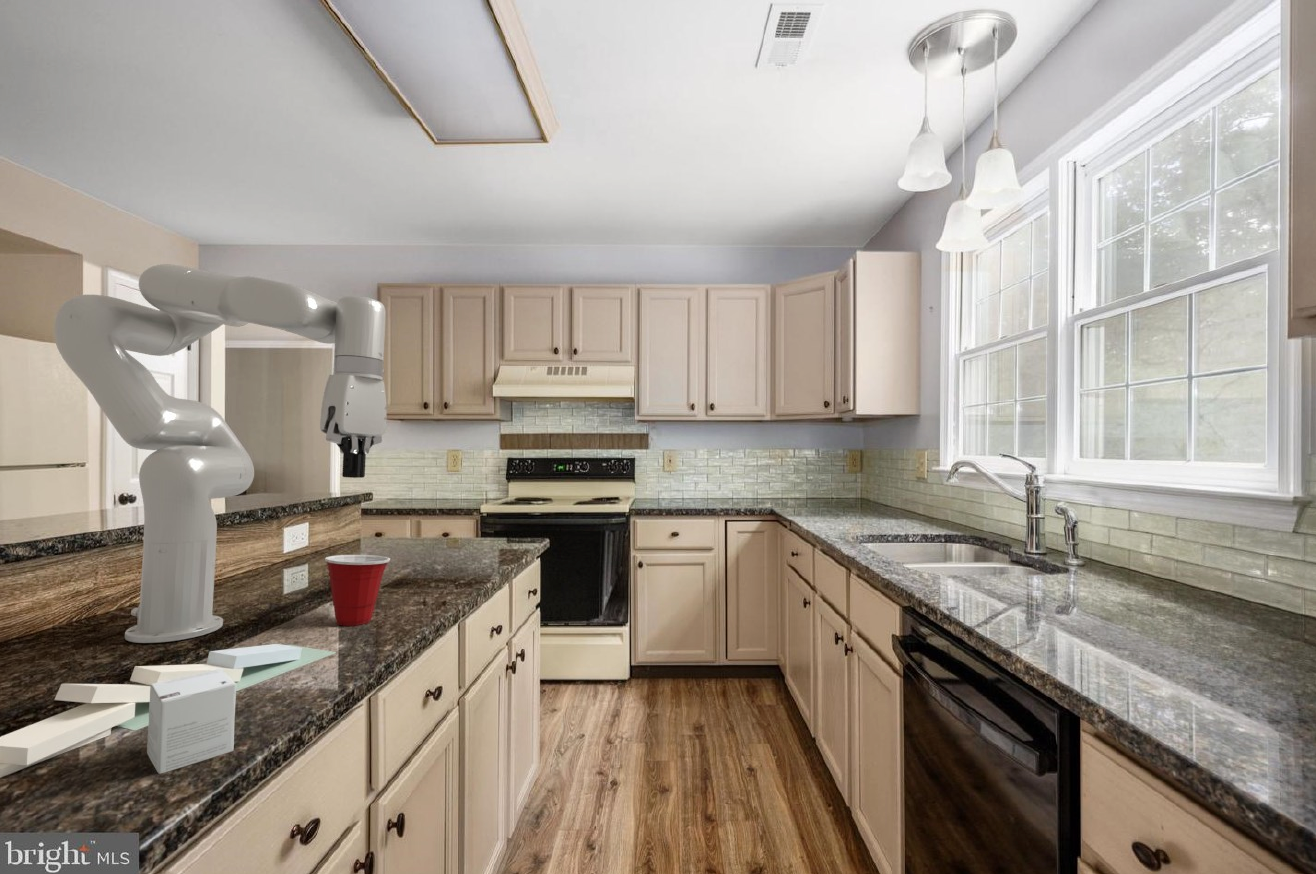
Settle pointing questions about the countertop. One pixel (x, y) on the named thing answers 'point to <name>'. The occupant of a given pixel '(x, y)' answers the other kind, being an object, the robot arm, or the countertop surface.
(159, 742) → the skincare box
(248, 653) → the domino
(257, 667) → the strip
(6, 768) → the domino
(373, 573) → the plastic cup
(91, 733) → the domino
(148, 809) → the countertop surface
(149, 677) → the domino
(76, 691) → the domino
